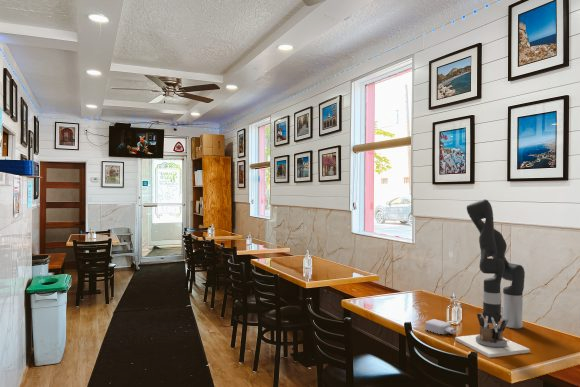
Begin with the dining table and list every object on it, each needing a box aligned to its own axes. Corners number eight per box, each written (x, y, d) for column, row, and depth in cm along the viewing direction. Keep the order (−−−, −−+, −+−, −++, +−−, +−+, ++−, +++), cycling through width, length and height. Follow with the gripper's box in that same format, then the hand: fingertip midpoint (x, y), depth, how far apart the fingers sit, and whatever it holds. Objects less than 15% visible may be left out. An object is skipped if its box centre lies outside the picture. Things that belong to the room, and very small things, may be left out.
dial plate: (455, 340, 200) (455, 336, 200) (492, 336, 206) (492, 332, 206) (489, 357, 179) (489, 353, 179) (529, 352, 185) (529, 348, 185)
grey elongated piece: (451, 338, 202) (424, 330, 214) (461, 335, 208) (435, 327, 220) (451, 329, 202) (424, 321, 214) (461, 325, 208) (435, 318, 220)
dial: (486, 348, 185) (486, 333, 185) (470, 338, 198) (470, 323, 198) (513, 347, 187) (513, 331, 187) (495, 337, 200) (495, 322, 200)
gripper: (473, 299, 196) (473, 335, 196) (503, 306, 184) (503, 344, 184) (481, 297, 200) (481, 332, 200) (511, 303, 189) (511, 341, 189)
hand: (491, 338), depth 192 cm, fingers closed on dial, 4 cm apart
